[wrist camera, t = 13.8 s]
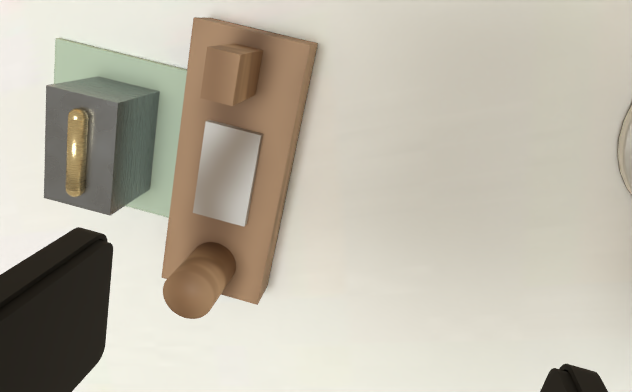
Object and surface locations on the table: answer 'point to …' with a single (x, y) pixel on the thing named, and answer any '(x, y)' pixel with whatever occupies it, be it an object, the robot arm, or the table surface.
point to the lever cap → (99, 142)
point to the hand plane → (232, 162)
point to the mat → (167, 79)
